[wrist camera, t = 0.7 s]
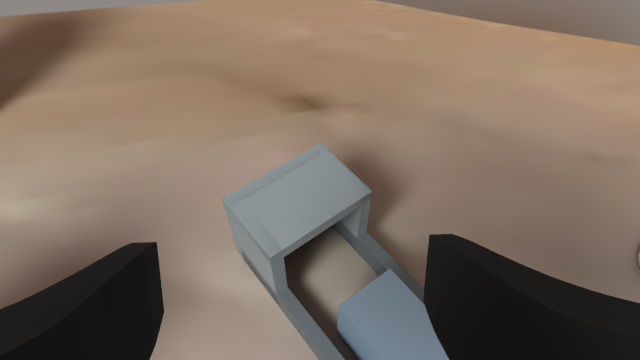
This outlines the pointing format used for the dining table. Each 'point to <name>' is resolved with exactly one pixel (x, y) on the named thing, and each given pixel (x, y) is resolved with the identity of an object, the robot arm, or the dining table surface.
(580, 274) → the dining table surface
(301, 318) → the track
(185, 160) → the dining table surface
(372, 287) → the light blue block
